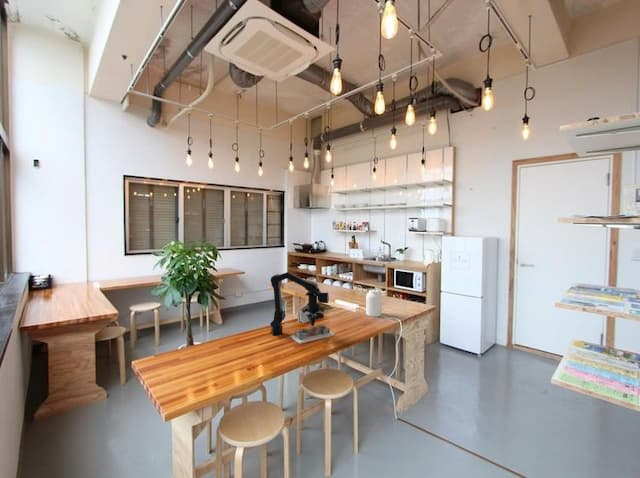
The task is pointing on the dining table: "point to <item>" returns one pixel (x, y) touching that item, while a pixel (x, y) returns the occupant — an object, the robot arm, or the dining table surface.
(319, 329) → the slat
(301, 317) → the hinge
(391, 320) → the dining table surface
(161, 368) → the dining table surface
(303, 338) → the end cap plate
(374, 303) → the can
